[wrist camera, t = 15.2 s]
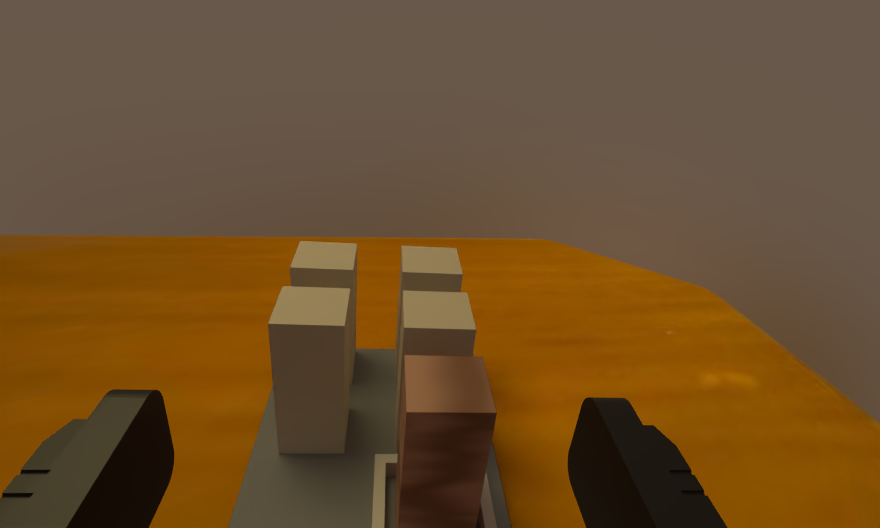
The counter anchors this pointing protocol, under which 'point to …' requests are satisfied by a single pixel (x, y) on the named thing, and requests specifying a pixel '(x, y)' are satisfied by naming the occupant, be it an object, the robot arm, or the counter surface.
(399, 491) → the terracotta pillar
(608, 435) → the robot arm
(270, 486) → the pillar board
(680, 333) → the counter surface
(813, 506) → the counter surface
